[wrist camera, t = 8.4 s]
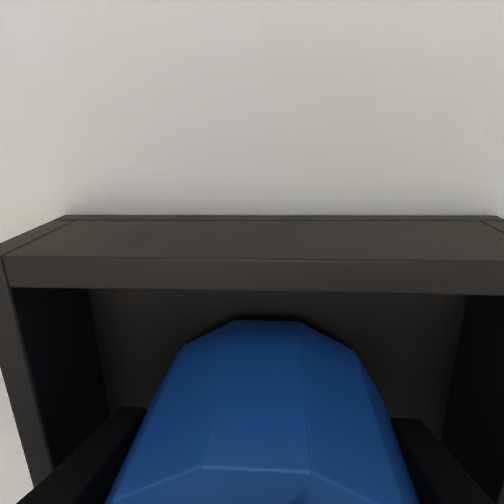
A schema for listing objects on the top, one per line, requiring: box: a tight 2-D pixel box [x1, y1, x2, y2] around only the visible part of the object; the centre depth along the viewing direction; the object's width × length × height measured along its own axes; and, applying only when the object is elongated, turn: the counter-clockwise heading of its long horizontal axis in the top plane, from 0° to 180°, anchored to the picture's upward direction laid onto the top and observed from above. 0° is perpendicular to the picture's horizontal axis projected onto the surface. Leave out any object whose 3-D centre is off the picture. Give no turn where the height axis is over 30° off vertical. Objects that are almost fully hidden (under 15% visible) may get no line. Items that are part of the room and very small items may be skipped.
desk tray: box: [0, 215, 504, 504], centre depth 9 cm, size 10×10×3 cm
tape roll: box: [104, 320, 420, 504], centre depth 8 cm, size 6×6×4 cm
